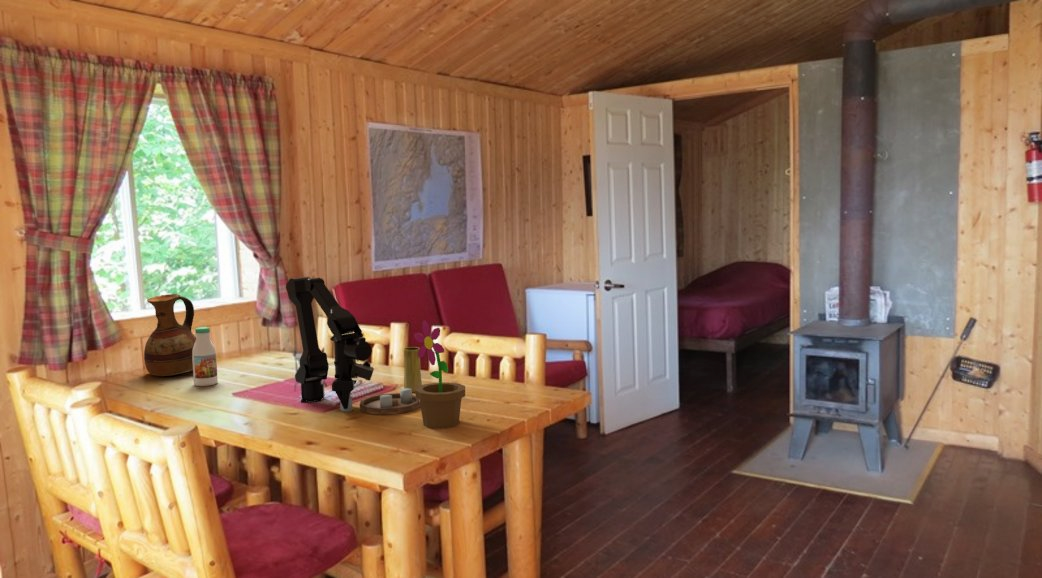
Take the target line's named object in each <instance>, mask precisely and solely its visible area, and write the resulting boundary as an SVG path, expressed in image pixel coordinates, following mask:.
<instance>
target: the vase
mask: <svg viewBox="0 0 1042 578" xmlns="http://www.w3.org/2000/svg"><path fill="white" fill-rule="evenodd" d="M419 349H420V347H419V346H418V347H417V346H409V347H404V348H403V358H404V359H403V364H404V365H403V368H404V369H403V371H404V372H403V373H404V375H403V386H404V387H403V389H404V388H410V389H412V394H413V393H415V390H416V387H418V386H421V385H423V384H422V383H423V381H422V372H421V357H420V358H419V357H418V350H419Z"/></svg>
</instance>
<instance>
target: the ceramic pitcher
mask: <svg viewBox="0 0 1042 578" xmlns="http://www.w3.org/2000/svg"><path fill="white" fill-rule="evenodd" d="M179 300H181V301H182V302H183V304H184V307H185V317H184V318H185V319H184V321H183V323H182V324H180V323H179V322H178V320H177V319H176V315H175V310H174V307H175V304H176V302H177V301H179ZM146 301H147V302H148V303H149V304H150V305H152V306H153V309H155V317H156V319H157V324H156V328H155V329H154V330H153V331H152V332H151V334H150V335H149V336H148V339H147V341H146V343H145V345H144V350H143V351H144V352H143V354H144V355H143V359H144V364H145V368H146V371H147V373H149V374H151V375H153V376H157V377H172V376H176V375H181V374H184V373H188V372H193V360H192V351H193V347H194V344H195V342H196V337H197V336H195V334H193V332H192V327H193V321H194V317H195V308H194V307H195V306H194V304H193V302H192V301H191V300H190V299H189V298H188V297H186V296H185V295H180V294H178V293H171V294H161V295H159V296H152V297H149V298H147V300H146Z"/></svg>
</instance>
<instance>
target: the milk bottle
mask: <svg viewBox="0 0 1042 578" xmlns="http://www.w3.org/2000/svg"><path fill="white" fill-rule="evenodd" d="M210 330H211V329H210V327H209V326H201V327H200V326H199V327H196V328H195V335H196V336H195V337H196V342H195V344H194V347H193V351H192V360H193V370H192V375H193V377H192V378H193V384H194V386H196V387H207V386H213V385H217V383H218V381H219V380H218V365H217V364H218V363H217V351H216V347H215V345H214V343H213V342H212V340H211V337H210V333H211V331H210Z"/></svg>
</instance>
